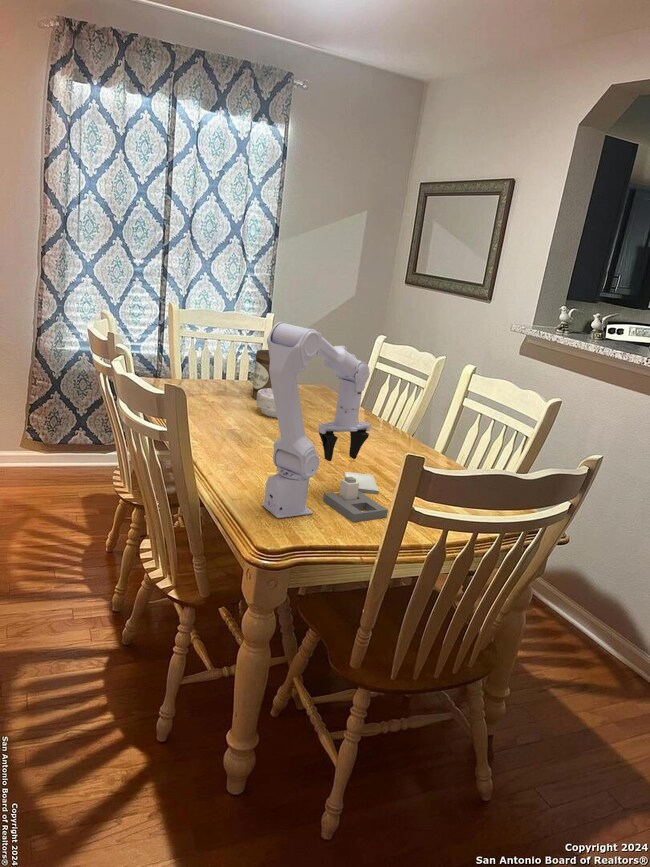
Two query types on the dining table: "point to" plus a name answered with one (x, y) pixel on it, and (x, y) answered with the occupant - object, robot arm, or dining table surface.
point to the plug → (348, 488)
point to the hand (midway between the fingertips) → (340, 458)
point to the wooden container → (261, 372)
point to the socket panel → (356, 507)
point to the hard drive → (364, 482)
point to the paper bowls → (266, 402)
